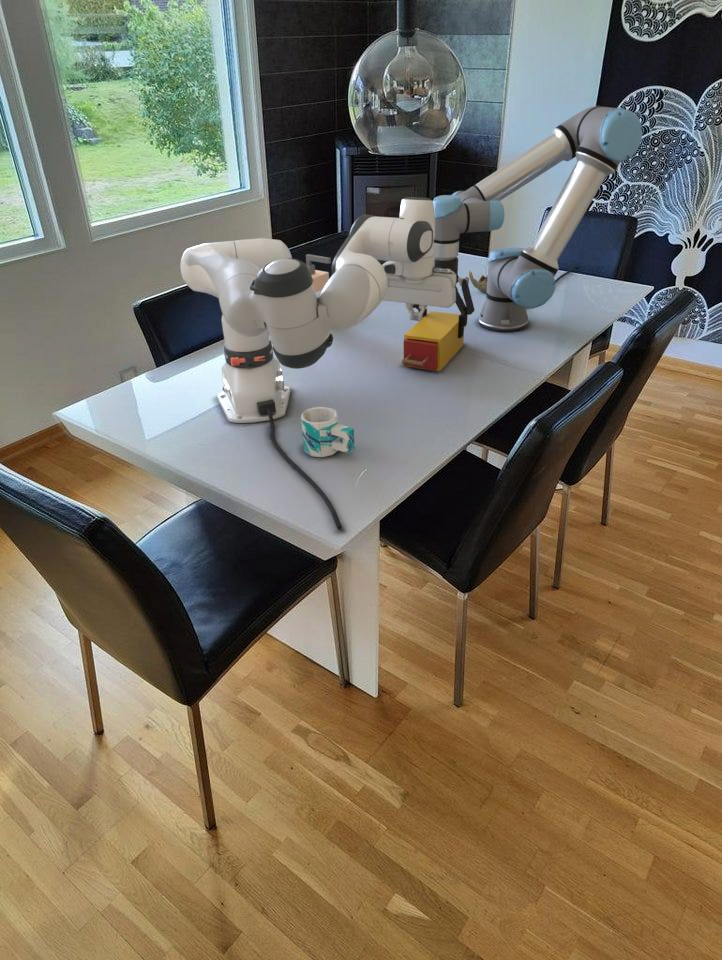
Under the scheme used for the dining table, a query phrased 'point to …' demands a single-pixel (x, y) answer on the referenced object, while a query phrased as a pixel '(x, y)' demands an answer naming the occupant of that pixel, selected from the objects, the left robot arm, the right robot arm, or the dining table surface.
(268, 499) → the dining table surface
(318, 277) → the soap dispenser
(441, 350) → the cabinet
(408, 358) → the drawer
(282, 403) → the left robot arm
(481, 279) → the jawbone
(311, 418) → the mug
